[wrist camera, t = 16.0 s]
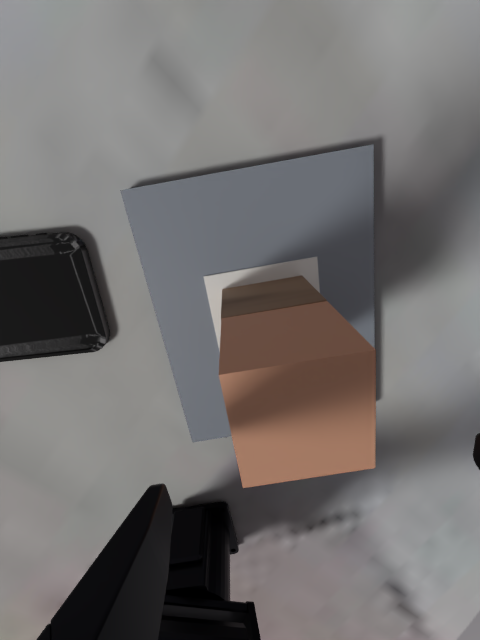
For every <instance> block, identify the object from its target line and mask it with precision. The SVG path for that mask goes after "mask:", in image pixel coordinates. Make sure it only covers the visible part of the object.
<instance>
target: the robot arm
mask: <svg viewBox="0 0 480 640" xmlns="http://www.w3.org/2000/svg"><path fill="white" fill-rule="evenodd" d="M473 458H474V461H475V463H476V465H477V467H478V468H479V470H480V433H479V434H477V435H476V438H475V444H474V451H473ZM237 552H238V542H237V538H236V534H235V530H234V526H233V523H232V519H231V515H230V511H229V507H228V504H227V503H226V502H218V503H211V504H205V505H198V506H192V507H186V508H179V509H172V502H171V499H170V496H169V494H168V491H167V488H166V486H165V484H156V485H151V486H150V487H149V488H148V489H147V490H146V492H145V493H144V494H143V496H142V497H141V498H140V500H139V501H138V503H137V504H136V505H135V507H134V508H133V509H132V511H131V512H130V513H129V515H128V516H127V518H126V519H125V520H124V522H123V523H122V524H121V526H120V527H119V528H118V530H117V531H116V532H115V534H114V535H113V537H112V538H111V539H110V541H109V542H108V543H107V545H106V546H105V547H104V549H103V550H102V552H101V553H100V554H99V556H98V557H97V558H96V560H95V561H94V562H93V564H92V565H91V566H90V568H89V569H88V571H87V572H86V573H85V575H84V576H83V577H82V579H81V580H80V581H79V583H78V584H77V585H76V587H75V588H74V590H73V591H72V592H71V594H70V595H69V596H68V598H67V599H66V600H65V602H64V603H63V605H62V606H61V607H60V609H59V610H58V611H57V613H56V614H55V615H54V617H53V618H52V619H51V624H48V625H47V626H46V627H45V629H44V630H43V631H42V633H41V634H40V636H39V637H38V638H37V640H261V639H260V634H259V628H258V623H257V617H256V612H255V606H254V602H249V601H247V602H246V603H244V602H234V601H230V554H235V553H237Z"/></svg>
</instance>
